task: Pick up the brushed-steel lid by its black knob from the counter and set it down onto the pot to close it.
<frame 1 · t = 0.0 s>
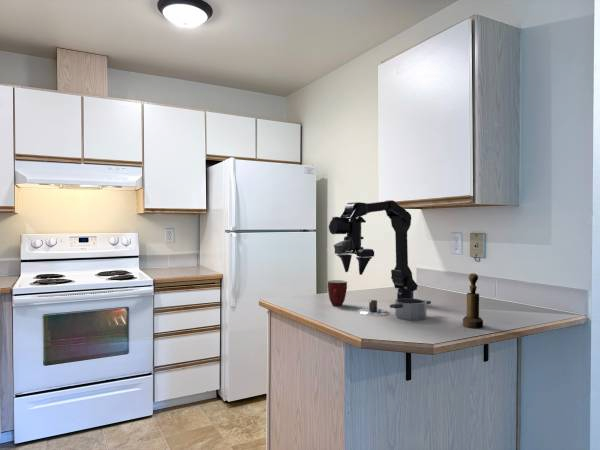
hand: (353, 273, 171), 15 cm above the worktop, fingers open, 9 cm apart
mug: (337, 306, 179), on the worktop
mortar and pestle: (472, 326, 147), on the worktop
lid: (373, 313, 167), on the worktop
pot: (410, 317, 159), on the worktop
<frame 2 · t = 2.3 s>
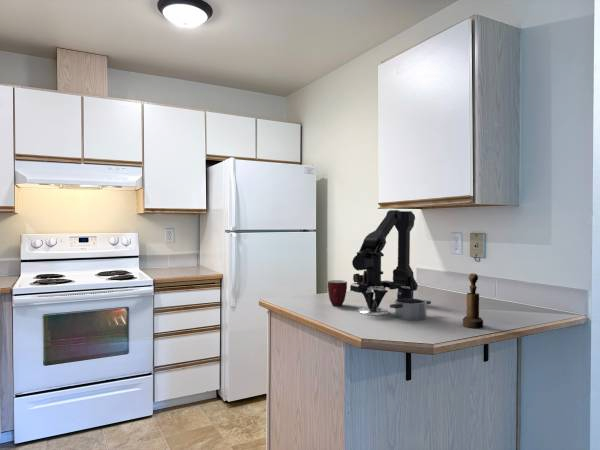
hand: (373, 308, 167), 1 cm above the worktop, fingers closed on lid, 3 cm apart
lid: (373, 312, 167), on the worktop, touching gripper
everything else where it was.
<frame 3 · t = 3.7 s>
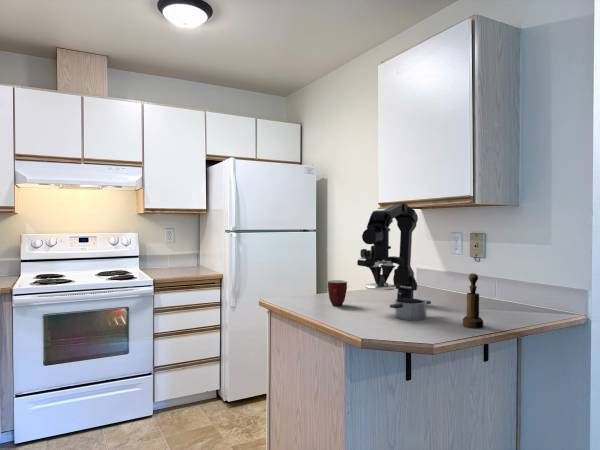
hand: (380, 283, 165), 11 cm above the worktop, fingers closed on lid, 3 cm apart
lid: (380, 287, 165), point 10 cm above the worktop, touching gripper
everything else where it was.
when the fingers open (8 cm above the worktop, at t = 5.2 s): lid stays where it is, resting on pot.
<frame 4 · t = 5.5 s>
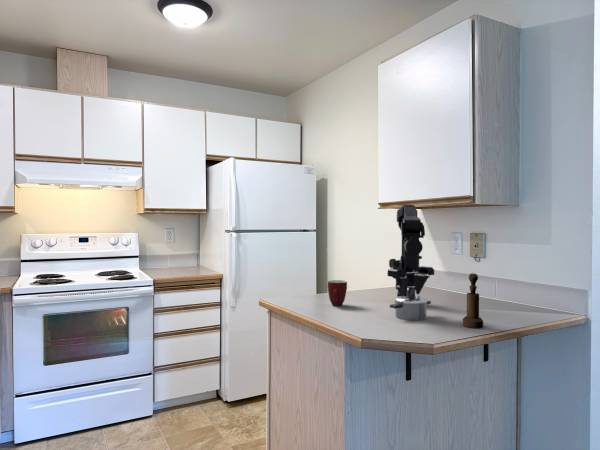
hand: (410, 295, 159), 8 cm above the worktop, fingers open, 7 cm apart
lid: (410, 300, 159), point 6 cm above the worktop, touching pot
everything else where it was.
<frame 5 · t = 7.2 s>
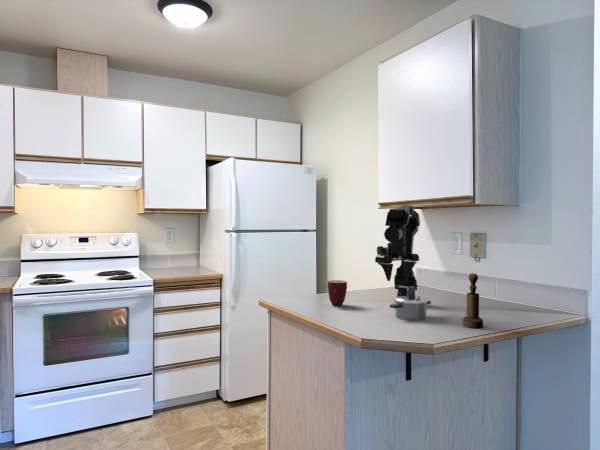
hand: (397, 280, 170), 12 cm above the worktop, fingers open, 9 cm apart
nothing on the worktop moved.
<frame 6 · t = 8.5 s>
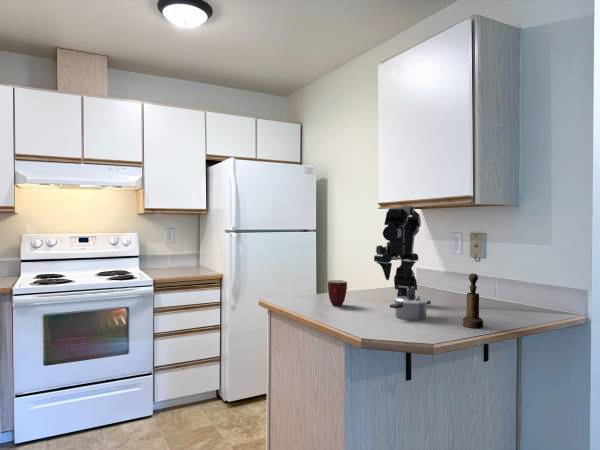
hand: (396, 279, 170), 13 cm above the worktop, fingers open, 9 cm apart
nothing on the worktop moved.
at the end: lid 0.0 cm off-centre on the pot, point 6.0 cm above the pot's base; lid tilted 0°; the gripper is holding nothing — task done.
